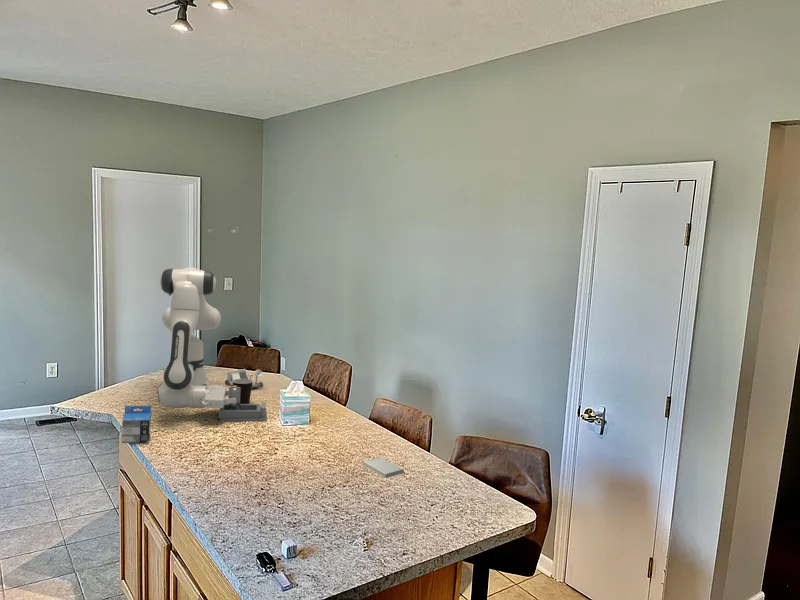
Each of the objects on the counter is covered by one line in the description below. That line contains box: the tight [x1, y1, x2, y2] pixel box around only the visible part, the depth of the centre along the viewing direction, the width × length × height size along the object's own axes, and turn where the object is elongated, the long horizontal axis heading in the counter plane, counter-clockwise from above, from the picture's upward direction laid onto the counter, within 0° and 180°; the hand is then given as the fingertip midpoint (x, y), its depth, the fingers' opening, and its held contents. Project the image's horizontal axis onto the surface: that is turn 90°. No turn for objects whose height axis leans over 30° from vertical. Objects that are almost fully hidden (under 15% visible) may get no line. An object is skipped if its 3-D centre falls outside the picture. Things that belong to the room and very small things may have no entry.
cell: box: [228, 385, 241, 410], centre depth 234 cm, size 5×5×12 cm
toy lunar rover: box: [224, 368, 264, 388], centre depth 281 cm, size 18×10×12 cm
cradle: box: [218, 401, 267, 423], centre depth 236 cm, size 12×18×5 cm, turn 104°
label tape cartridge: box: [121, 405, 152, 444], centre depth 202 cm, size 9×4×12 cm, turn 105°
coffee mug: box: [232, 378, 254, 404], centre depth 256 cm, size 12×9×10 cm
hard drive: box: [361, 456, 405, 478], centre depth 194 cm, size 2×8×12 cm
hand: (236, 396), depth 234 cm, fingers open, 8 cm apart
